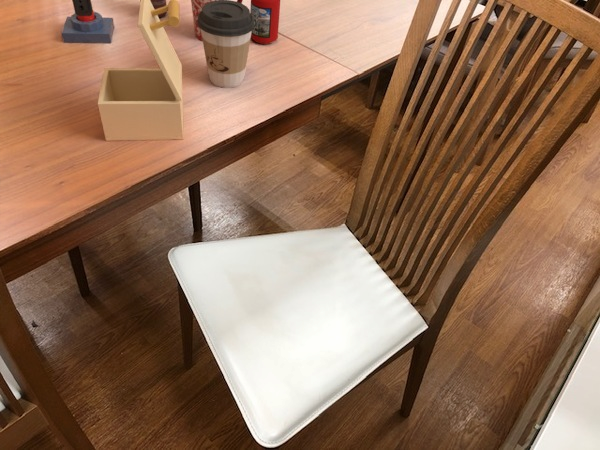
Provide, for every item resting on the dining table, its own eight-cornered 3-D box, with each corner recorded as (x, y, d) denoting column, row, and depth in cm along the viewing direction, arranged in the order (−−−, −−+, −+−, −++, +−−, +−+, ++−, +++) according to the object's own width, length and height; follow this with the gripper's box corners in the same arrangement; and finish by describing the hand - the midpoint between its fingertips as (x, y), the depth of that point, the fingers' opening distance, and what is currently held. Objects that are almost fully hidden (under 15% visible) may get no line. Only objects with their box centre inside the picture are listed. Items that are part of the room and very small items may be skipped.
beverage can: (243, 37, 122) (244, -14, 113) (264, 30, 126) (267, -20, 117) (262, 48, 119) (265, -3, 111) (283, 41, 123) (287, -10, 114)
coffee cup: (190, 84, 106) (185, 14, 95) (214, 60, 113) (212, -8, 103) (239, 99, 104) (240, 28, 93) (261, 73, 112) (264, 6, 101)
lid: (137, 25, 77) (172, 13, 76) (141, -8, 84) (172, -18, 84) (177, 101, 87) (208, 91, 87) (177, 66, 95) (206, 57, 95)
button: (76, 22, 112) (75, 14, 111) (79, 15, 114) (77, 7, 113) (94, 22, 113) (92, 15, 111) (95, 15, 115) (94, 7, 114)
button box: (63, 42, 112) (59, 25, 110) (69, 25, 118) (65, 8, 115) (111, 43, 114) (107, 26, 111) (114, 26, 120) (111, 9, 117)
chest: (105, 140, 91) (97, 103, 85) (111, 104, 99) (104, 67, 93) (183, 139, 93) (180, 103, 88) (183, 103, 101) (180, 68, 95)
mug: (196, 46, 117) (192, -14, 107) (186, 28, 123) (183, -31, 113) (248, 41, 121) (249, -17, 111) (237, 23, 127) (237, -33, 117)
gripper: (37, -153, 64) (67, -20, 76) (12, -122, 55) (51, 24, 66) (99, -148, 65) (120, -19, 77) (86, -117, 56) (111, 25, 68)
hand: (88, 1), depth 72 cm, fingers open, 8 cm apart
